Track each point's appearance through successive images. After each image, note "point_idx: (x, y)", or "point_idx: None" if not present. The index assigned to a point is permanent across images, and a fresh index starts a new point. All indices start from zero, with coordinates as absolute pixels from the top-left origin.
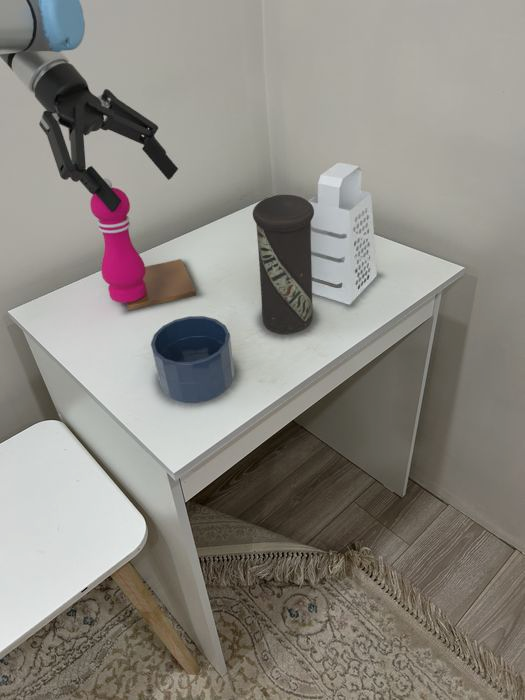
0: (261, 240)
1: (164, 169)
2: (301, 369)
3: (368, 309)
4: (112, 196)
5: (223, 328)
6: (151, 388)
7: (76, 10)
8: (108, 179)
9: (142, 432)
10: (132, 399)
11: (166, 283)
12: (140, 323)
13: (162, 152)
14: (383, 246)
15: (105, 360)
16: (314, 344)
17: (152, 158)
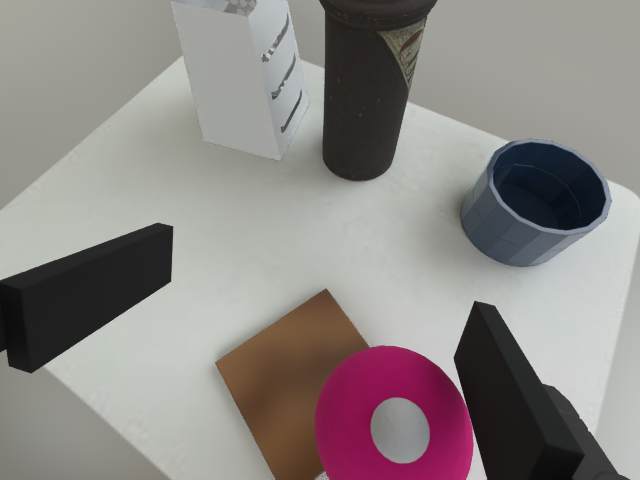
0: (415, 45)
1: (148, 277)
2: (444, 125)
3: (314, 87)
4: (504, 323)
5: (502, 152)
6: (559, 269)
7: None
8: (392, 412)
9: (629, 248)
10: (592, 285)
11: (313, 353)
12: (433, 357)
13: (101, 249)
14: (161, 87)
15: (546, 370)
16: None
17: (96, 319)
